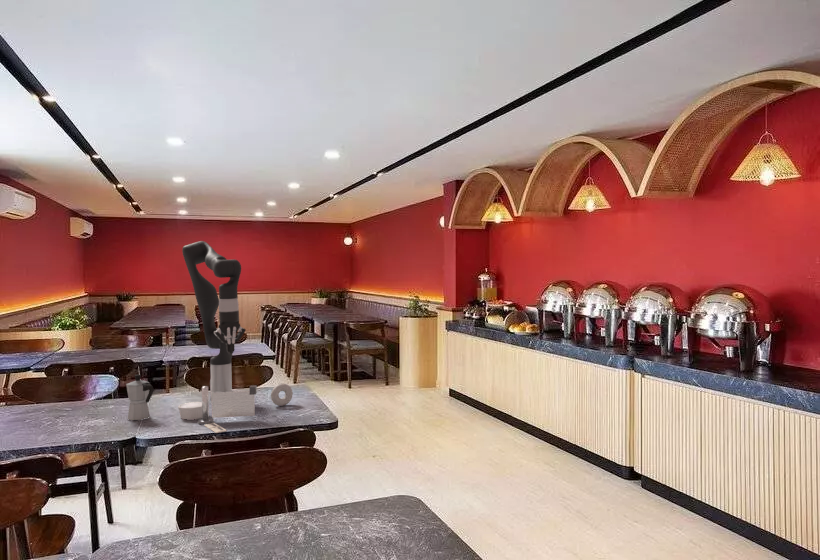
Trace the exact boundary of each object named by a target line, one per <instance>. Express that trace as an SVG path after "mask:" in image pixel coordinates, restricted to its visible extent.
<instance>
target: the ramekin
mask: <svg viewBox="0 0 820 560" xmlns="http://www.w3.org/2000/svg"><path fill="white" fill-rule="evenodd" d="M177 409H178V411H179V415H180V419H182V420H184V419H187V420H186V421H194V419H195V420H200V419H202V401H190V402H186V403H181V404H179V405H178V408H177Z"/></svg>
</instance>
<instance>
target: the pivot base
mask: <svg viewBox="0 0 820 560" xmlns="http://www.w3.org/2000/svg"><path fill="white" fill-rule="evenodd" d="M211 423H215V418H212V417H209V419H208V420H202V418H200V419H197V424H198V425H201V424H203V426H204V424H211Z"/></svg>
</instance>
